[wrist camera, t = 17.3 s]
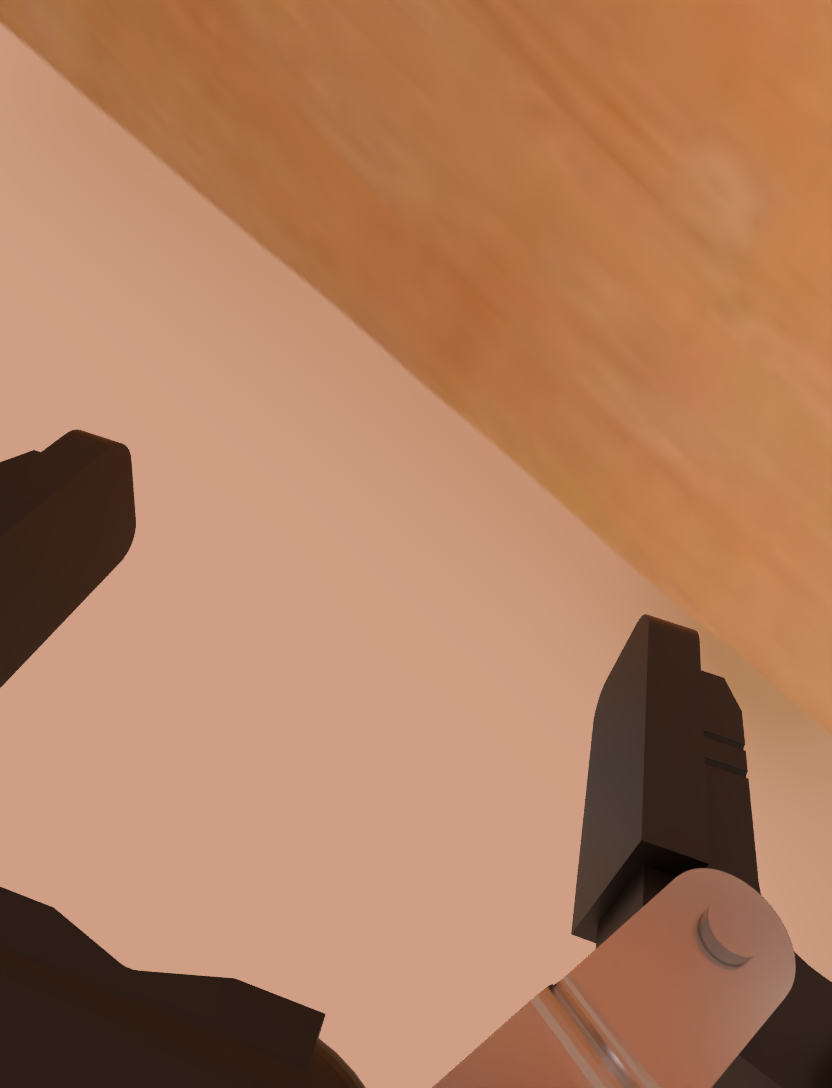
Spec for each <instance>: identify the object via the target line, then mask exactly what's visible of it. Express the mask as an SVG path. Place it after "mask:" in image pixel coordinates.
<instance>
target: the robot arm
mask: <svg viewBox="0 0 832 1088" xmlns="http://www.w3.org/2000/svg"><path fill="white" fill-rule="evenodd" d="M135 528H136V517H135V505H134V491H133V478H132V464H131V455H130V452H129V449H128V448H127V447H126V446H125V445H124V444H122V443H119V442H115V441H112V440H109V439H106V438H103V437H100V436H96V435H94V434H90V433H88V432H84V431H81V430H72V431H70V432H68V433H67V434H65V435H64V436H62V437H61V438H60V439H59V440H57V441H56V442H54V443H53V444H52V445H50V446H49V447H48V448H46V449H45V450H44V451H42V452H38V451H35V450H33V451H30V452H28V453H25V454H22V455H19V456H17V457H14V458H11V459H8V460H5V461H3V462H0V687H2V686H3V685H4V683H5V682H6V681H7V680H8V679H9V678H10V677H11V676H12V675H13V674H14V673H15V672H16V671H17V670H18V669H19V668H20V667H21V666H22V664H24V662H25V661H26V660H27V659H28V658H29V657H30V656H31V655H32V654H33V653H34V652H35V651H36V650H37V649H38V648H39V647H40V646H41V645H42V644H43V642H45V640H46V639H47V638H48V637H49V636H50V635H51V634H52V633H53V632H54V631H55V630H56V629H57V628H58V627H59V626H60V625H61V624H62V623H63V622H64V621H65V620H66V618H67V617H68V616H69V615H70V614H71V613H72V612H73V611H74V610H75V609H76V608H77V607H78V606H79V605H80V604H81V603H82V602H83V601H84V600H85V598H86V597H87V596H88V595H89V594H90V593H91V592H92V591H93V590H94V589H95V588H96V587H97V586H98V585H99V584H100V583H101V582H102V581H103V580H104V579H105V577H106V576H107V575H108V574H109V573H110V572H111V571H112V570H113V569H114V568H115V567H116V566H117V565H118V564H119V563H120V562H121V561H122V559H123V558H124V557H125V555H126V554H127V552H128V550H129V548H130V546H131V544H132V541H133V538H134V534H135ZM699 643H700V642H699V635H698V632H697V631H695V630H693V629H690V628H687V627H683V626H680V625H677V624H674V623H671V622H668V621H665V620H662V619H659V618H656V617H653V616H649V615H646V614H645V615H643V616H642V617H641V618H640V619H639V621H638V622H637V625H636V626H635V628H634V630H633V632H632V634H631V635H630V637H629V639H628V641H627V643H626V645H625V646H624V648H623V650H622V652H621V654H620V656H619V658H618V660H617V662H616V663H615V665H614V667H613V669H612V671H611V672H610V674H609V676H608V678H607V680H606V682H605V684H604V687H603V689H602V691H601V694H600V697H599V700H598V704H597V708H596V711H595V716H594V722H593V732H592V741H591V751H590V760H589V770H588V780H587V791H586V799H585V809H584V818H583V828H582V837H581V847H580V856H579V866H578V875H577V885H576V896H575V905H574V914H573V924H572V933H571V934H572V935H575V936H578V937H581V938H583V939H586V940H589V941H592V942H594V943H596V950H594V951H593V952H592V953H591V954H590V955H589V956H588V957H587V958H585V959H584V960H583V961H582V962H581V963H580V964H579V965H578V966H577V967H575V968H574V969H573V970H572V971H571V972H570V973H569V974H568V975H566V976H565V977H564V978H563V979H562V980H561V981H559V982H558V983H557V984H555V985H550V986H548V987H547V988H545V989H544V990H543V991H541V992H540V993H539V994H538V995H536V996H535V997H534V998H533V999H532V1000H530V1001H529V1002H528V1003H527V1004H526V1005H525V1006H524V1007H522V1008H521V1009H520V1010H519V1011H518V1012H517V1013H516V1014H515V1015H513V1016H512V1017H511V1018H510V1019H509V1020H508V1021H507V1022H506V1023H504V1024H503V1025H502V1026H501V1027H500V1028H499V1029H498V1030H496V1031H495V1032H494V1033H493V1034H492V1035H491V1036H490V1037H489V1038H488V1039H487V1040H485V1041H484V1042H483V1043H482V1044H481V1045H480V1046H478V1047H477V1048H476V1049H475V1050H474V1051H473V1052H472V1053H471V1054H469V1055H468V1056H467V1057H466V1058H465V1059H464V1060H463V1061H462V1062H460V1063H459V1064H458V1065H457V1066H456V1067H455V1068H454V1069H453V1070H452V1071H450V1072H449V1073H448V1074H447V1075H446V1076H445V1077H444V1078H442V1079H441V1080H440V1081H439V1082H438V1083H437V1084H436V1085H435V1086H433V1087H432V1088H832V982H830V981H829V980H827V979H826V978H825V977H823V976H822V975H821V974H819V973H818V972H817V971H815V970H814V969H812V968H811V967H810V966H809V965H808V964H807V963H806V962H805V961H803V960H802V959H801V958H800V957H799V956H798V955H797V954H796V953H795V952H794V950H793V946H792V942H791V940H790V937H789V935H788V932H787V930H786V928H785V926H784V924H783V923H782V921H781V919H780V918H779V916H778V915H777V913H776V912H775V911H774V909H773V908H772V907H771V905H770V904H769V903H768V902H767V901H766V900H765V899H764V897H762V896H761V893H760V888H759V882H758V872H757V862H756V852H755V842H754V831H753V821H752V811H751V801H750V791H749V781H748V778H746V774H747V771H748V770H747V760H746V751H744V750H743V748H744V745H745V740H744V730H743V720H742V711H741V709H740V707H739V705H738V703H737V702H736V700H735V698H734V696H733V694H732V692H731V690H730V688H729V687H728V685H727V683H726V681H725V679H724V678H722V677H719V676H716V675H713V674H710V673H707V672H704V671H701V665H700V644H699ZM324 1017H325V1014H324V1013H321V1012H319V1011H316V1010H314V1009H311V1008H309V1007H306V1006H304V1005H301V1004H298V1003H296V1002H293V1001H291V1000H288V999H286V998H283V997H280V996H278V995H275V994H273V993H270V992H268V991H265V990H263V989H260V988H258V987H255V986H252V985H250V984H247V983H245V982H242V981H240V980H237V979H233V978H222V977H210V976H196V975H185V974H173V973H172V974H171V973H160V972H148V971H137V970H132V969H130V968H127V967H125V966H123V965H122V964H120V963H119V962H118V961H117V960H116V959H114V958H113V957H112V956H111V955H110V954H108V953H107V952H106V951H105V950H104V949H102V948H101V947H100V946H99V945H98V944H96V943H95V942H94V941H93V940H92V939H90V938H89V937H88V936H87V935H86V934H85V933H83V932H82V931H81V930H80V929H78V928H77V927H76V926H75V925H74V924H72V923H71V922H70V921H69V920H68V919H66V918H65V917H64V916H63V915H62V914H61V913H59V912H58V911H57V910H55V908H53V907H51V906H48V905H45V904H43V903H40V902H37V901H35V900H33V899H30V898H27V897H25V896H22V895H20V894H17V893H15V892H12V891H10V890H7V889H4V888H2V887H0V1088H365V1086H364V1085H363V1083H362V1082H361V1081H360V1079H359V1078H358V1077H357V1075H356V1074H355V1072H354V1071H353V1070H352V1069H351V1068H350V1067H349V1066H348V1065H347V1064H346V1063H345V1062H344V1060H343V1059H342V1058H341V1057H340V1056H339V1055H338V1054H337V1053H336V1052H335V1051H334V1050H332V1049H331V1048H330V1047H329V1046H327V1045H326V1044H325V1043H324V1042H323V1041H321V1040H320V1039H319V1034H320V1031H321V1027H322V1024H323V1020H324Z"/></svg>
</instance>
